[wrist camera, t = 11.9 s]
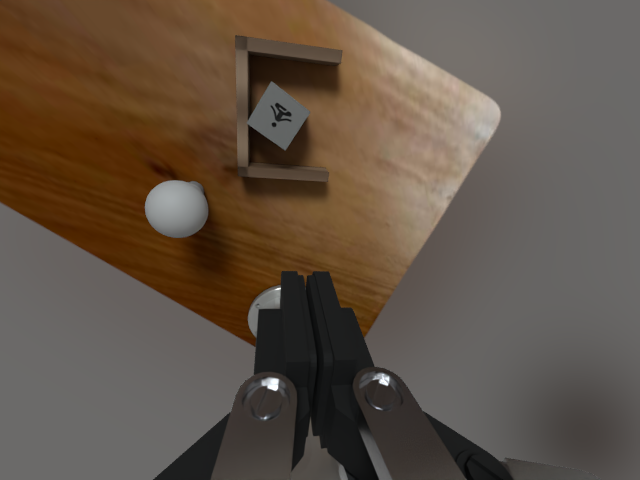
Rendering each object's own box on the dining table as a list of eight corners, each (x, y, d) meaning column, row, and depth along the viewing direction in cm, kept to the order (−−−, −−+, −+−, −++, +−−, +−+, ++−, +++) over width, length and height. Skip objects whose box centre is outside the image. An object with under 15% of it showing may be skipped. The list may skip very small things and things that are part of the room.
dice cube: (306, 110, 36) (310, 112, 32) (283, 144, 38) (285, 150, 33) (271, 83, 35) (271, 81, 30) (249, 120, 36) (246, 123, 32)
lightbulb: (183, 156, 37) (150, 176, 27) (228, 182, 39) (212, 210, 29) (162, 195, 38) (124, 228, 28) (206, 219, 40) (185, 257, 31)
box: (324, 176, 40) (327, 181, 38) (240, 170, 38) (238, 176, 36) (337, 54, 34) (342, 50, 32) (238, 40, 32) (235, 35, 30)
